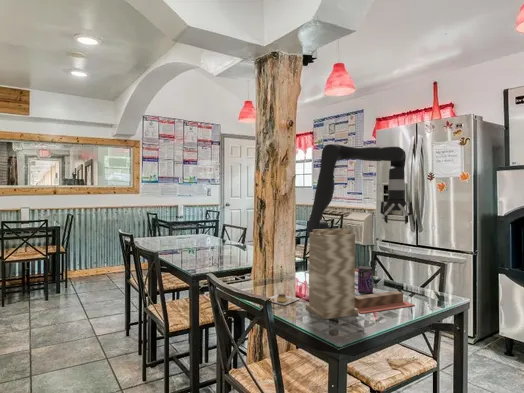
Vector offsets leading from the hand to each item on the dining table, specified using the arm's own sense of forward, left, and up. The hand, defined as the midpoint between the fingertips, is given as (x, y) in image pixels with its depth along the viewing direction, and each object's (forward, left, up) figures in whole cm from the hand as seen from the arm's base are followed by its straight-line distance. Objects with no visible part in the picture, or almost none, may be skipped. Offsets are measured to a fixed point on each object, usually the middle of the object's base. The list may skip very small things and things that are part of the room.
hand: (396, 223), depth 173 cm
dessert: (-47, -30, -35) cm, 65 cm away
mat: (-6, -19, -34) cm, 40 cm away
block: (-6, -19, -34) cm, 39 cm away
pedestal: (-23, -36, -34) cm, 55 cm away
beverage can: (-14, 0, -34) cm, 37 cm away
